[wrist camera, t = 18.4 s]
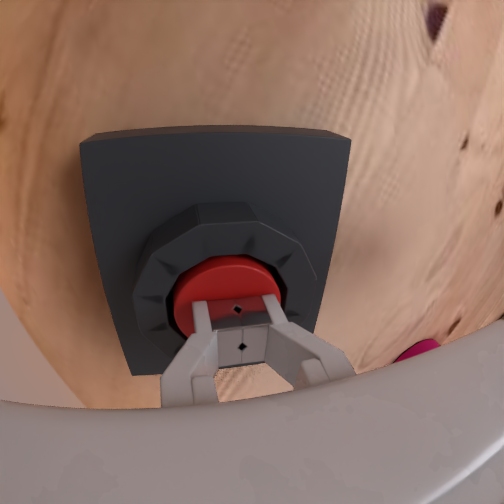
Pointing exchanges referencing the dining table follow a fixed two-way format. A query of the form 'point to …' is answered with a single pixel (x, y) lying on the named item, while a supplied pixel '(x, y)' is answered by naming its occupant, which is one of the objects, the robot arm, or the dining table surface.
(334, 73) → the dining table surface
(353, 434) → the robot arm
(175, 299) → the bell button
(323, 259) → the block
